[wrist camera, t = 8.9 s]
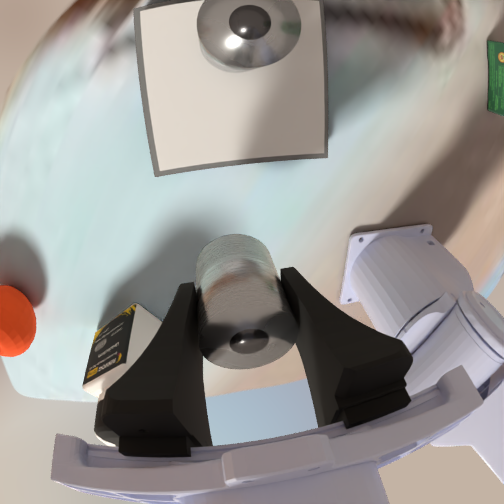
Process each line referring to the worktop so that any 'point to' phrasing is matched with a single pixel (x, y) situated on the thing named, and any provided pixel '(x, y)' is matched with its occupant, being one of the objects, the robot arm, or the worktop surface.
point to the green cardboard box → (496, 77)
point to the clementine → (15, 322)
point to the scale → (228, 95)
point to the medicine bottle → (117, 357)
